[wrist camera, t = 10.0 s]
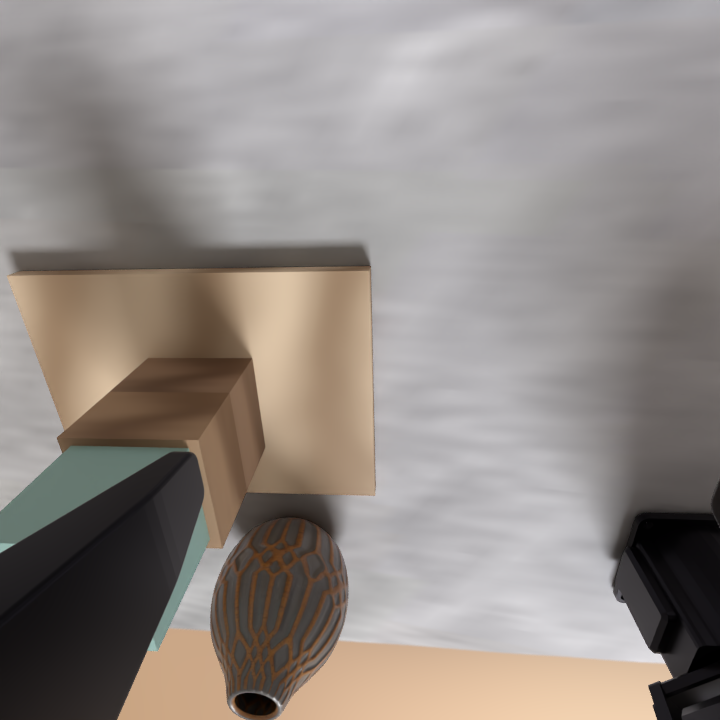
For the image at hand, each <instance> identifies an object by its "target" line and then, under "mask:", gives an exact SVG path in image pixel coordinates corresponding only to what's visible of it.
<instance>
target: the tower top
mask: <svg viewBox="0 0 720 720" xmlns="http://www.w3.org/2000/svg"><path fill="white" fill-rule="evenodd" d="M57 440H58V443H59V445H60V448H61V450H62V453H64V452H65V451H66V450H67V449H68V448H69V447H70V446H111V447H158V448H189V451H190V452H193V453H194V454H195V455H196V456H197V459H198V463H199V467H200V471H201V476H202V480H203V485H204V500H203V503H202V507H203V511H204V516H205V520H206V524H207V529H208V533H209V537H210V540H209V542H208V545H207V547H206V548H220V549H222V548H223V546H224V544H225V541H226V539H227V537H228V534H229V532H230V530H231V527H232V525H233V523H234V520H235V518H236V516H237V513H238V511H239V509H240V506H241V504H242V501H243V499H244V497H245V494H246V492H247V487H246V482H245V476H244V471H243V465H242V459H241V454H240V448H239V443H238V437H237V431H236V426H235V420H234V414H233V409H232V403H231V398H230V393H210V392H109V393H107V394H106V395H105V396H104V397H103V398H102V399H101V400H99V401H98V402H97V403H96V404H95V405H94V406H93V407H91V408H90V409H89V410H88V411H87V412H86V413H85V414H83V415H82V416H81V417H80V418H79V419H78V420H77V421H75V422H74V423H73V424H72V425H71V426H70V427H69V428H67V429H66V430H65V431H64V432H63V433H62V434H61V435H59V436H58V437H57Z"/></svg>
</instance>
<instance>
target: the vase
mask: <svg viewBox="0 0 720 720" xmlns="http://www.w3.org/2000/svg"><path fill="white" fill-rule="evenodd" d="M347 606H348V577H347V570H346V566H345V562H344V559H343V556H342V554H341V551H340V549H339V547H338V546H337V544H336V543H335V542H334V540H333V539H332V538H331V537H330V535H329V534H328V533H327V532H325V531H324V530H323V529H322V528H320V527H319V526H317V525H316V524H314V523H312V522H310V521H307V520H304V519H300V518H279V519H274V520H270V521H268V522H265V523H263V524H261V525H259V526H257V527H255V528H254V529H252V530H251V531H250V532H249V533H248V534H246V535H245V536H244V537H243V538H242V539H241V540H240V542H239V543H238V544H237V545H236V546H235V547H234V549H233V550H232V552H231V553H230V554H229V556H228V558H227V560H226V562H225V564H224V565H223V567H222V570H221V572H220V574H219V577H218V579H217V582H216V585H215V589H214V593H213V597H212V604H211V614H210V629H211V637H212V642H213V646H214V649H215V652H216V655H217V657H218V661H219V663H220V666H221V669H222V671H223V673H224V677H225V682H226V693H227V703H228V706H229V708H230V709H231V710H232V712H234V713H235V714H236V715H238V716H239V717H241V718H244V719H246V720H274V719H276V718H277V717H279V716H280V715H281V714H282V712H283V711H284V709H285V707H286V705H287V704H288V702H289V701H290V699H291V697H292V696H293V695H294V694H295V692H297V691H298V690H299V688H301V687H302V686H303V685H304V684H305V683H306V682H307V681H308V680H309V679H310V678H311V677H312V676H313V675H314V674H315V673H316V672H317V671H318V670H319V669H320V668H321V667H322V666H323V665H324V664H325V662H326V661H327V660H328V658H329V656H330V655H331V653H332V651H333V650H334V648H335V646H336V644H337V641H338V639H339V637H340V634H341V631H342V628H343V626H344V622H345V618H346V613H347Z"/></svg>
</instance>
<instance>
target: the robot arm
mask: <svg viewBox="0 0 720 720" xmlns="http://www.w3.org/2000/svg"><path fill="white" fill-rule="evenodd" d="M203 500H204V485H203V480H202V476H201V471H200V467H199V463H198V459H197V456H196V455H195V454H194V453H193V452H184V451H173V452H170V453H168V454H166V455H164V456H163V457H161V458H159V459H158V460H156V461H154V462H152V463H151V464H149V465H147V466H146V467H144V468H142V469H141V470H139V471H137V472H136V473H134V474H132V475H131V476H129V477H127V478H126V479H124V480H122V481H120V482H119V483H117V484H115V485H114V486H112V487H110V488H109V489H107V490H105V491H104V492H102V493H100V494H99V495H97V496H95V497H94V498H92V499H90V500H88V501H87V502H85V503H83V504H82V505H80V506H78V507H77V508H75V509H73V510H72V511H70V512H68V513H67V514H65V515H63V516H61V517H60V518H58V519H56V520H55V521H53V522H51V523H50V524H48V525H46V526H45V527H43V528H41V529H40V530H38V531H36V532H35V533H33V534H31V535H29V536H28V537H26V538H24V539H23V540H21V541H19V542H18V543H16V544H14V545H13V546H11V547H9V548H8V549H6V550H4V551H3V552H1V553H0V720H117V719H118V716H119V714H120V712H121V709H122V707H123V705H124V703H125V700H126V698H127V696H128V693H129V691H130V689H131V686H132V684H133V682H134V680H135V677H136V675H137V673H138V671H139V668H140V666H141V664H142V661H143V659H144V657H145V655H146V652H147V650H148V648H149V645H150V643H151V641H152V639H153V636H154V634H155V632H156V629H157V627H158V625H159V623H160V620H161V618H162V616H163V614H164V611H165V609H166V607H167V604H168V602H169V600H170V598H171V595H172V593H173V590H174V588H175V586H176V583H177V581H178V578H179V575H180V572H181V569H182V566H183V563H184V560H185V557H186V554H187V550H188V547H189V544H190V541H191V538H192V535H193V532H194V528H195V525H196V522H197V519H198V516H199V513H200V509H201V506H202V503H203ZM711 507H712V512H713V514H675V513H642V514H640V515H638V516H637V517H636V518H635V520H634V524H633V527H632V530H631V533H630V537H629V540H628V543H627V547H626V549H625V550H624V552H623V555H622V558H621V562H620V565H619V568H618V572H617V575H616V578H615V582H616V583H615V586H614V590H613V593H614V595H615V597H616V599H617V601H619V602H621V603H626V604H627V606H628V608H629V610H630V612H631V614H632V616H633V618H634V620H635V622H636V624H637V626H638V628H639V630H640V632H641V634H642V636H643V638H644V640H645V642H646V644H647V646H648V648H649V649H650V650H651V651H652V652H653V653H657V654H661V655H662V657H663V659H664V661H665V663H666V665H667V667H668V669H669V671H670V673H671V675H672V676H673V678H672V679H670V680H667V681H665V682H662V683H661V682H660V681H658V682H655V683H653V684H650V685H648V686H649V690H650V693H651V696H652V699H653V702H654V705H653V708H654V711H655V714H656V717H657V720H720V479H719V482H718V484H717V487H716V489H715V492H714V494H713V497H712V501H711ZM646 522H647V523H646Z"/></svg>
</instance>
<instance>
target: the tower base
mask: <svg viewBox="0 0 720 720" xmlns="http://www.w3.org/2000/svg"><path fill="white" fill-rule="evenodd" d="M110 392H210V393H230V398H231V403H232V409H233V414H234V420H235V426H236V431H237V437H238V443H239V448H240V454H241V459H242V465H243V471H244V476H245V482H246V487H247V490H248V487H249V485H250V483H251V480H252V478H253V476H254V473H255V471H256V469H257V466H258V464H259V462H260V459H261V457H262V454H263V452H264V450H265V440H264V433H263V426H262V420H261V413H260V406H259V399H258V393H257V386H256V379H255V372H254V366H253V359H252V358H147V359H146V360H145V361H144V362H143V363H142V364H141V365H139V366H138V367H137V368H136V369H135V370H134V371H133V372H131V373H130V374H129V375H128V376H127V377H126V378H125V379H123V380H122V381H121V382H120V383H119V384H118V385H117V386H115V387H114V388H113V389H112V390H111V391H110Z"/></svg>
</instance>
